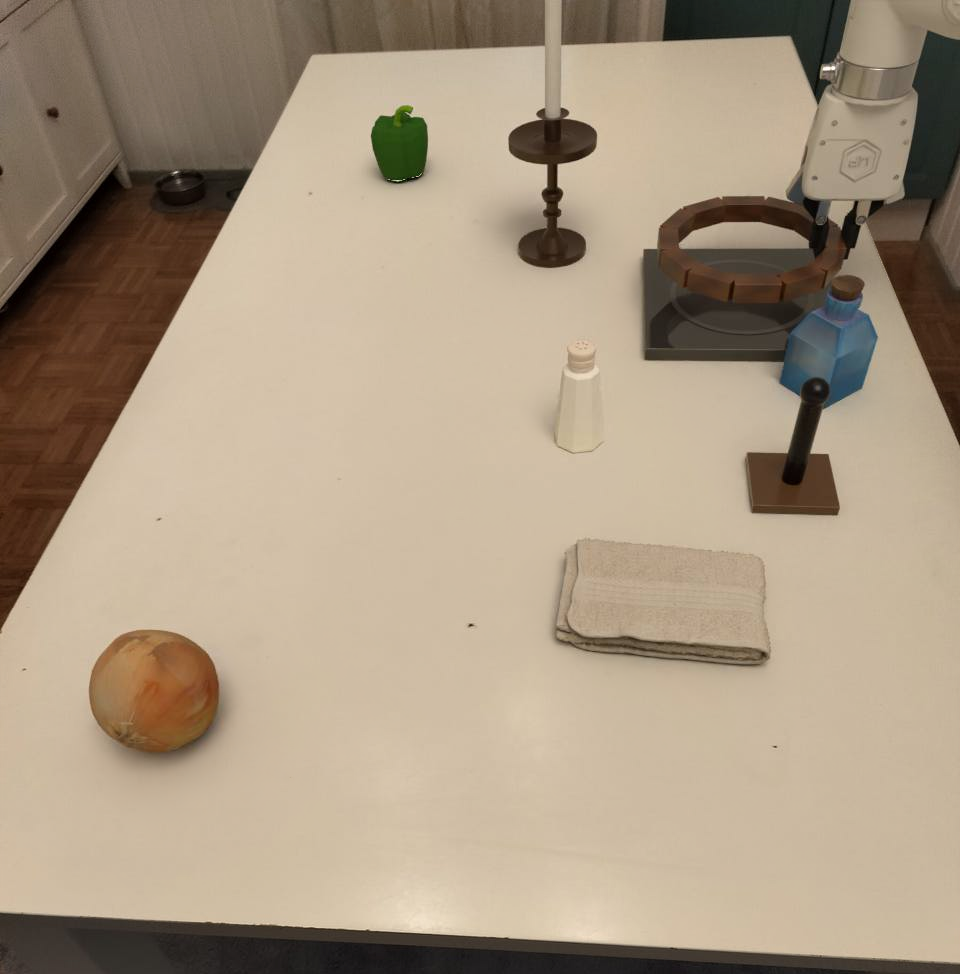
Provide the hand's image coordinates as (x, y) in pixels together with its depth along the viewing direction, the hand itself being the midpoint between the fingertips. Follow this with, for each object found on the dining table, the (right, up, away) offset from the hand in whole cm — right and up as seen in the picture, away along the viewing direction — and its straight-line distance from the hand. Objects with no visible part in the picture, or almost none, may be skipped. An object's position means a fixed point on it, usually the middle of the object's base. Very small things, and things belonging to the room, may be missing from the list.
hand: (829, 252), depth 105 cm
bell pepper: (-52, +26, +35) cm, 68 cm away
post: (-10, -29, -15) cm, 34 cm away
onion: (-66, -52, -29) cm, 88 cm away
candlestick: (-31, +8, +18) cm, 36 cm away
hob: (-9, -4, +6) cm, 11 cm away
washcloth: (-24, -42, -24) cm, 54 cm away
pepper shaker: (-30, -23, -8) cm, 39 cm away
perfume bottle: (-3, -17, -5) cm, 18 cm away
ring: (-9, 0, +1) cm, 9 cm away
